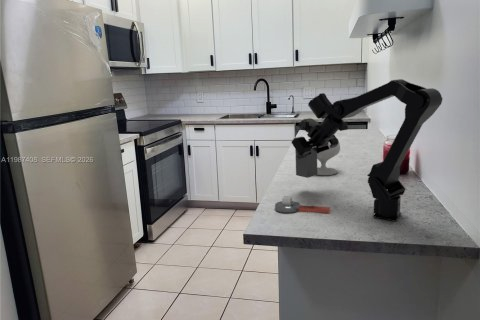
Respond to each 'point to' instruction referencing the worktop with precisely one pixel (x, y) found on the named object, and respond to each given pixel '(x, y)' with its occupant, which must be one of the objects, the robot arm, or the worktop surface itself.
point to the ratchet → (297, 207)
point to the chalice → (324, 157)
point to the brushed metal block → (307, 164)
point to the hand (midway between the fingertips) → (303, 156)
